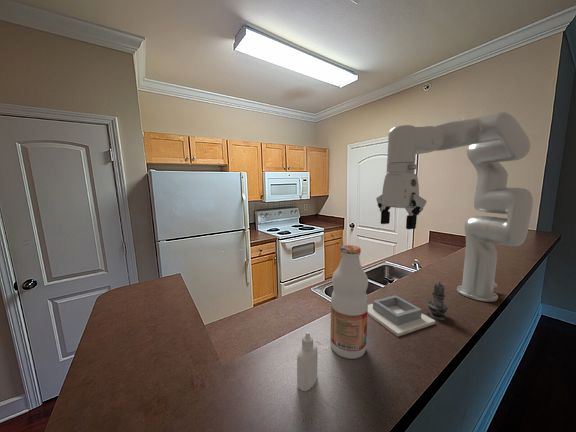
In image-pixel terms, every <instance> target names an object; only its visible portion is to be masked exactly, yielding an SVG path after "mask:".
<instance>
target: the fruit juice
mask: <svg viewBox="0 0 576 432" xmlns="http://www.w3.org/2000/svg"><path fill="white" fill-rule="evenodd" d="M361 249H362V248H361V247H360V246H357V245H351V244H350V245H349V244H346V245H342V246H341V247H340V254H341V259H340V261H339V264H338V266H337V267H336V269H335V270H334V271H333V272H332V273H333V274H332V277H331V278H332V279H331V283H332V288H333V291H332V293H331V300H330V339H329V340H330V346H331V349H332V350H333V352H334V353H335V354H336V355H338V356H340V357H342V358H344V359H347V360H348V359H349V360H355V359H359V358H362V357H363V356H364V355H365V353H366V351H367V336H368V335H367V332H368V314H367V313H368V305H369V299H368V296H367V293H366V292H367V289H368V287H369V279H368V276H367V273H366V272H365V271H364V269H363V268H362V265H361V260H360V255H361V251H362V250H361Z"/></svg>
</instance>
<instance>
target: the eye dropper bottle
mask: <svg viewBox="0 0 576 432" xmlns="http://www.w3.org/2000/svg"><path fill="white" fill-rule="evenodd" d="M296 357H297V359H296V361H297V362H296V386H297V388H298V389H300V390H301V391H303V392H308V391H310V390H311V389H312V388H313V387H314V386H315V384H316V382H317V381H318V380H317V379H318V347H317V345H316V344H314V337H313V336H312V335H311V334H310V331H306V332H305V334H304V335H303V336H302V338H301V347H300V349H299V351H298V353H297V356H296ZM313 385H314V386H313ZM311 387H312V388H311ZM310 388H311V389H310ZM307 390H308V391H307Z"/></svg>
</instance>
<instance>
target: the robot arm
mask: <svg viewBox="0 0 576 432" xmlns="http://www.w3.org/2000/svg"><path fill="white" fill-rule="evenodd" d="M387 139H388V140H387V154H386V155H387V160H386V161H387V162H386V174H385V175H384V179H383V180H384V181H383V186H382V194H380V195H379V196H378V197H376V202H377V207H378V208H379V212H380V224H381V225H389V224H390V221H391V219H390V217H391V212H390V209H391V208H396V209H405V210H406V212H407V214H408V215H406V219H405V220H406V222H405V229H406V230H415V229H416V228H417V219H418V218H417V217H418V216H419V215H420V213H421V212H422V211H423V210H424V208H425V206H426V205H427V200H426V199H424V198H423V197H421V196H420V187H419V178H418V174H417V173H415V171H416V170H417V169H418V164H416V157H417V155H421V154H428V153H433V152H439V151H447V150H452V149H458V148H461V147H467V148H466V155H467V158H468V160H469V161H470V163H471V165H473V167H474V169H475V170H476V173H477V180H476V185H475V186H476V187H475V192H474V198H473V199H474V200H473V206H474V209H475V210H476V211H478V212H481V213H487V214H488V213H489V214H499V215H500V214H501V215H507V217H498V216H489V215H474V216H470V217H469V218H468V219H466V221H465V223H464V235H465V252H464V263H463V271H462V273H463V274H462V283H461V284H460V285H458V286H456V287H457V288H456V291H457V292H458V293H459V294H460V295H462V296H463V297H467V298H469V299H472V300H474V301H480V302H487V303H488V302H496V301H497V300H498V299H499V296H498V294H497V293H495V292H494V288H497V287H498V284H497V283H496V282H495V278H496V268H497V261H498V252H497V248H496V247H495V245H494V244H498V245H504V246H509V247H519V246H521V245H523V244H524V242H525V241H526V239H527V236H528V232H529V228H530V227H529V226H530V222H531V216H532V211H533V206H534V199H533V198H534V197H533V194H532V192H531V191H530V190H529V189H526V188H525V187H524V188H523V187H507V184H508V177H509V174H508V170H507V169H506V168H505V167H504V165H502V164H501V162H513V161H514V162H515V161H519V160H522V159H524V158H525V157H526V156H528V154H529V153H530V150H531V140H530V138H529V136H528V135H527V132H525V130H524V129H523V127H522V126H521V125H520V123H519V121H518V120H517V119H516V118H515V117H514V116H513V115H512V114H511V113H508V112H505V111H504V112H503V111H500V112H496V113H493V114H491V113H490V114H488V115H484V116H479V117H475V118H470V119H469V118H468V119H463V120H455V121H450V122H446V123H442V124H439V125H435V126H433V125H426V126H425V125H424V126H414V125H411V124H404V125H403V124H402V125H398V126H397V125H396V126H395V127H392V128H391V129H390V130H389V132H388V137H387ZM493 243H494V244H493Z"/></svg>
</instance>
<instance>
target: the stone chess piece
mask: <svg viewBox="0 0 576 432" xmlns="http://www.w3.org/2000/svg"><path fill="white" fill-rule="evenodd" d="M431 294H432V300H431V301H428V302H426V303H427V306H428V311H427V316H428V317H430V318H431V319H433V320H437V321H446V319H447V316H446V315H445V314H446V313H447V312H448V310H449V307H448V305H446V304H445V303H444V299H445V298H446V295H445V286H444V285H443V284H441V281H438V283H436V284H434V285H433V292H432V293H431Z"/></svg>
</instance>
